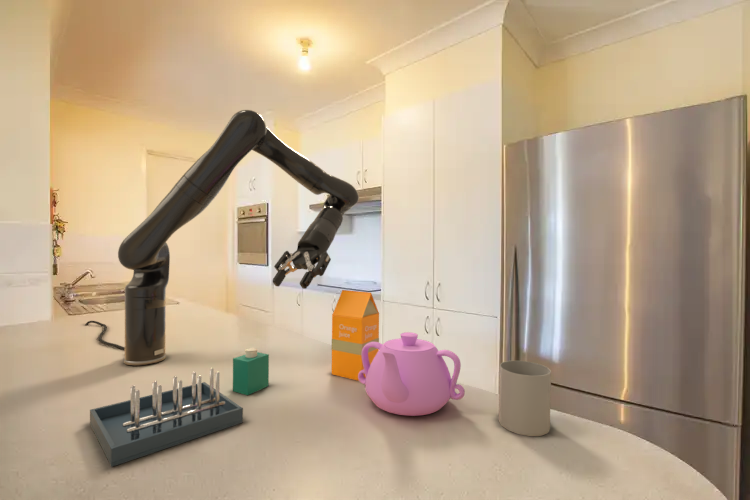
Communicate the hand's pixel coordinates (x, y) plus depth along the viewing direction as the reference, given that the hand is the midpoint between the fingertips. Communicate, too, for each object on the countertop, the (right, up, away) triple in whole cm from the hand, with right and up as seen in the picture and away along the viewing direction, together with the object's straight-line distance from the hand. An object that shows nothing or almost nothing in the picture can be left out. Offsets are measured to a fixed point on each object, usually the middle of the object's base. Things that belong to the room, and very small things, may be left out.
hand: (288, 285), depth 92 cm
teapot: (+27, -22, -18) cm, 39 cm away
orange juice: (+16, -22, +1) cm, 27 cm away
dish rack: (-11, -21, -30) cm, 38 cm away
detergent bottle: (-6, -21, -10) cm, 24 cm away
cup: (+47, -22, -25) cm, 58 cm away
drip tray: (-15, -21, -26) cm, 37 cm away
